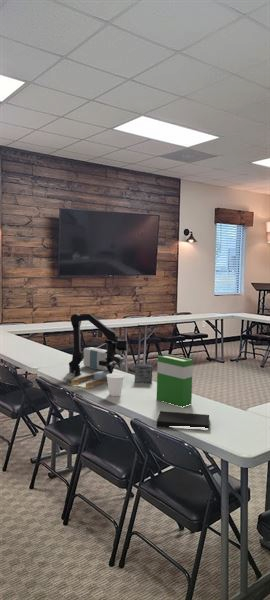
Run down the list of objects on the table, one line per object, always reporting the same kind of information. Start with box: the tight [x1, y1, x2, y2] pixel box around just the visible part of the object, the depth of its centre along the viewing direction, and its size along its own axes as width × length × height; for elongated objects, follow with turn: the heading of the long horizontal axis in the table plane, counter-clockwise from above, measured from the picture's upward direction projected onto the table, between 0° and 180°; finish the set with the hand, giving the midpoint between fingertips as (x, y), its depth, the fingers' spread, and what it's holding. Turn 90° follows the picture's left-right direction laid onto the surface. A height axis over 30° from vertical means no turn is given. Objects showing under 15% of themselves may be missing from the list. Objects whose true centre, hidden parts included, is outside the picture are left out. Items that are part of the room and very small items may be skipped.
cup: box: [106, 372, 125, 397], centre depth 246 cm, size 10×10×11 cm
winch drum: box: [65, 371, 76, 384], centre depth 270 cm, size 6×4×8 cm
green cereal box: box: [156, 353, 194, 407], centre depth 235 cm, size 18×7×24 cm, turn 45°
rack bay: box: [69, 372, 108, 390], centre depth 270 cm, size 13×25×3 cm, turn 146°
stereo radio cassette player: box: [82, 343, 108, 372], centre depth 307 cm, size 21×8×20 cm, turn 49°
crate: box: [93, 370, 110, 381], centre depth 278 cm, size 7×7×5 cm
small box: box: [133, 363, 153, 384], centre depth 275 cm, size 11×6×10 cm, turn 84°
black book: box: [156, 410, 210, 429], centre depth 205 cm, size 14×23×3 cm, turn 81°
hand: (110, 374), depth 286 cm, fingers closed
